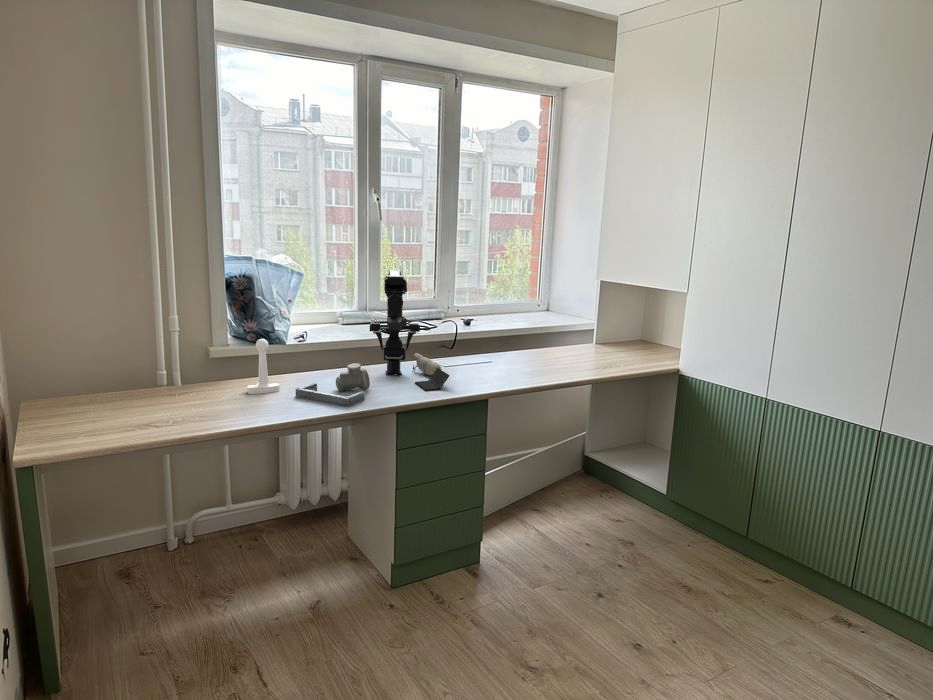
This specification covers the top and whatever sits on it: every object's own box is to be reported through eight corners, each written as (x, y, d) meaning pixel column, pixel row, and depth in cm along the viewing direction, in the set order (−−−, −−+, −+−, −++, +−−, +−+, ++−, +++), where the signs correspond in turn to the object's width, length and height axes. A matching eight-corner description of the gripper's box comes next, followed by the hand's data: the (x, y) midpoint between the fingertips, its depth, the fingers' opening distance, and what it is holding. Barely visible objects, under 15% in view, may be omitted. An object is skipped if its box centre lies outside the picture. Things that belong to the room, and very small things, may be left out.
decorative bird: (434, 380, 257) (434, 361, 256) (410, 371, 270) (410, 353, 269) (445, 378, 261) (445, 359, 259) (420, 370, 274) (421, 352, 272)
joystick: (248, 394, 228) (246, 340, 224) (246, 389, 235) (244, 336, 231) (280, 391, 233) (278, 339, 229) (276, 386, 240) (275, 335, 236)
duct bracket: (313, 390, 237) (313, 382, 236) (364, 399, 227) (364, 391, 226) (295, 396, 228) (295, 388, 227) (348, 407, 218) (348, 398, 217)
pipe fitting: (364, 384, 246) (362, 359, 242) (371, 391, 239) (369, 366, 236) (334, 390, 241) (332, 365, 237) (341, 397, 234) (338, 372, 230)
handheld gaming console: (409, 380, 249) (426, 358, 250) (422, 389, 254) (438, 368, 255) (425, 392, 240) (442, 369, 240) (438, 402, 245) (455, 379, 246)
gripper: (369, 309, 226) (369, 352, 228) (420, 310, 229) (420, 352, 231) (370, 308, 237) (369, 348, 239) (419, 308, 240) (418, 349, 242)
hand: (394, 350), depth 237 cm, fingers open, 9 cm apart
